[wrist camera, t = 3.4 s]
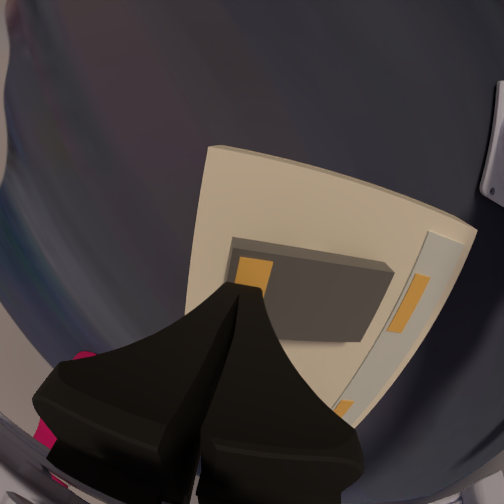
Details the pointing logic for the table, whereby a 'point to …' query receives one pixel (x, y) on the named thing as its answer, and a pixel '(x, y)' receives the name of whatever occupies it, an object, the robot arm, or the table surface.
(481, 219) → the table surface
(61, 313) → the table surface
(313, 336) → the block
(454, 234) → the switch console
